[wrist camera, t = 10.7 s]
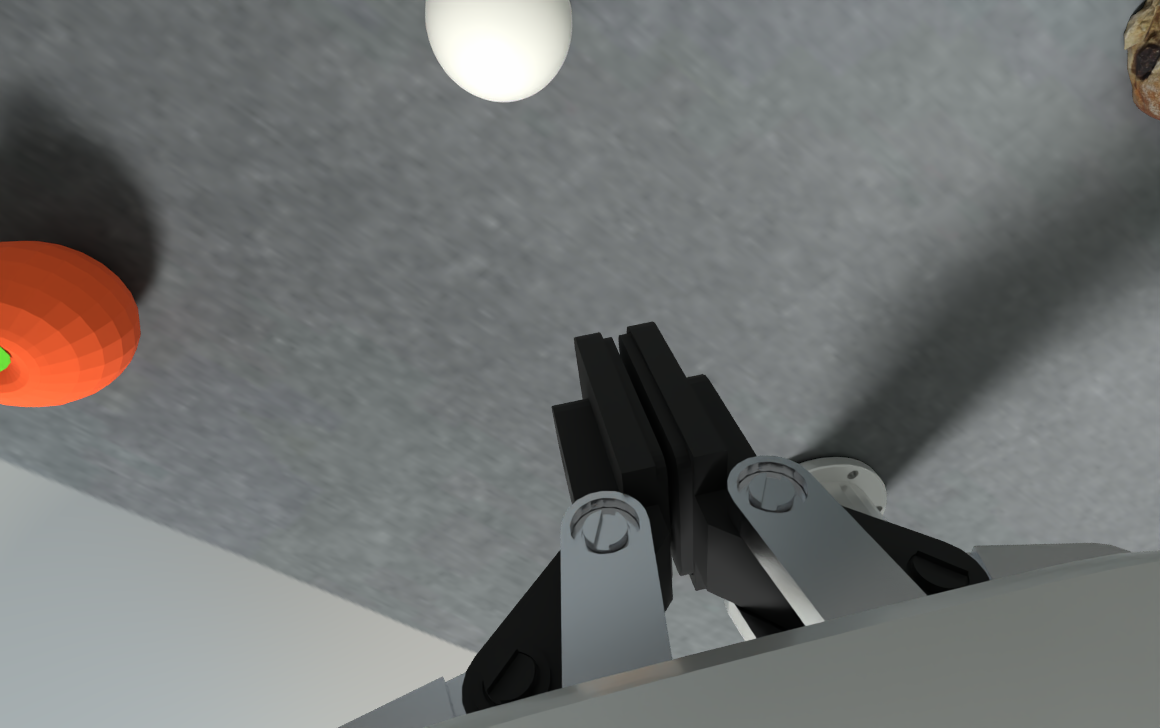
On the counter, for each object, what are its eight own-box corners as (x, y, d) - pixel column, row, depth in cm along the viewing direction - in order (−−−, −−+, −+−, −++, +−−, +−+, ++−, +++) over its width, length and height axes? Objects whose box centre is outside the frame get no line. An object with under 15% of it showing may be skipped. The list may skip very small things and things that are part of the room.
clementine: (-72, 206, 25) (-227, 281, 19) (102, 179, 26) (3, 243, 20) (46, 362, 30) (-50, 460, 24) (192, 336, 30) (132, 425, 24)
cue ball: (519, -70, 18) (497, -129, 21) (394, 51, 20) (390, -19, 23) (614, 66, 22) (583, 0, 25) (502, 155, 24) (486, 84, 27)
